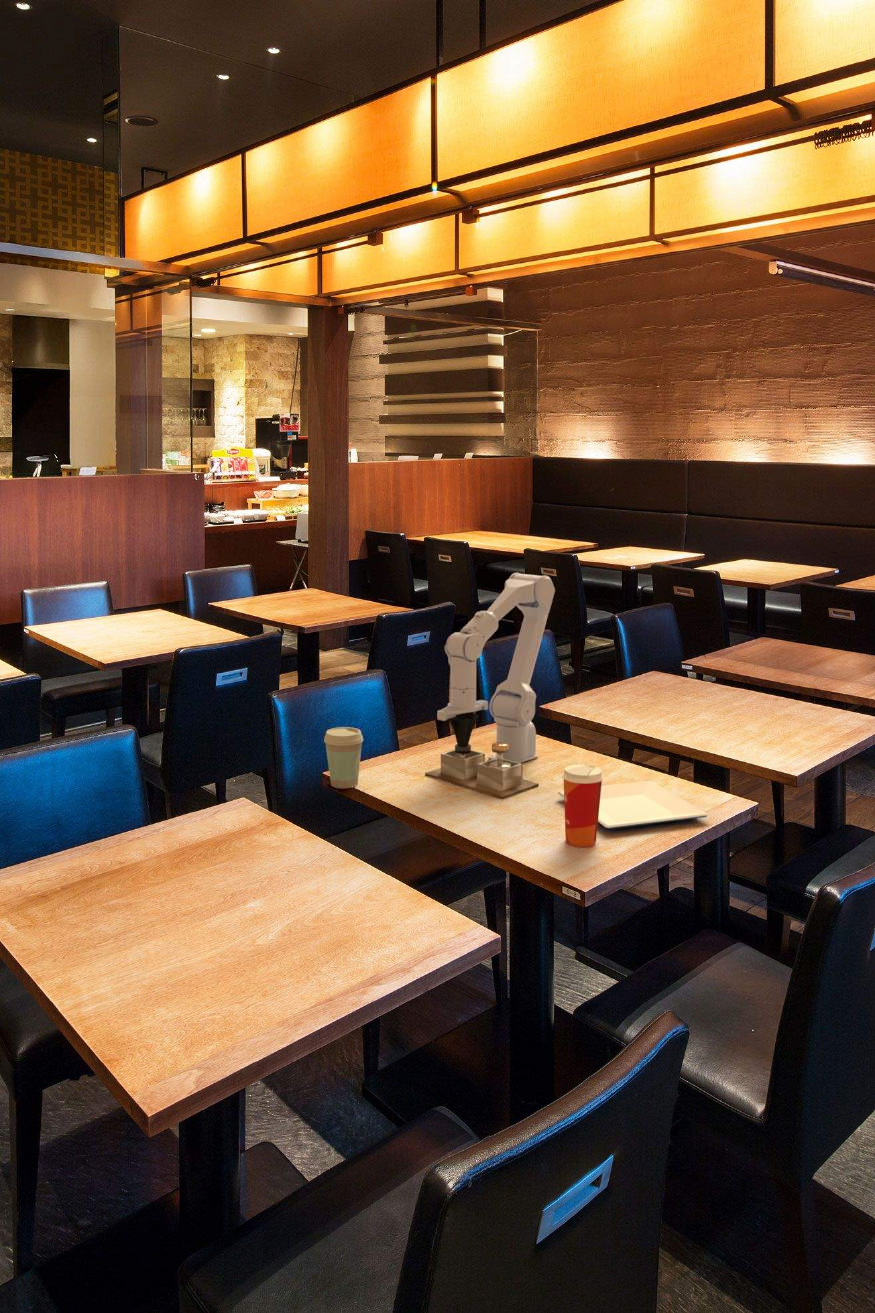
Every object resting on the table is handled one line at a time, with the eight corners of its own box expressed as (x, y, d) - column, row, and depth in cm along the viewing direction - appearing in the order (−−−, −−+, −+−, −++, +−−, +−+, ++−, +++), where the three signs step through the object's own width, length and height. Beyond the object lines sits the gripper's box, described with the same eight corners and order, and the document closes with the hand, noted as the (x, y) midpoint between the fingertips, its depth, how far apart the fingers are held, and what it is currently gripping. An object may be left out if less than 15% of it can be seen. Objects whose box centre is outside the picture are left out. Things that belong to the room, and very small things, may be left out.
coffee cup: (362, 791, 218) (361, 737, 215) (322, 790, 218) (321, 736, 216) (365, 778, 226) (364, 726, 224) (327, 778, 226) (326, 726, 224)
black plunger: (462, 763, 232) (462, 741, 231) (477, 767, 228) (477, 745, 227) (447, 767, 228) (447, 745, 227) (463, 772, 225) (463, 749, 224)
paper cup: (574, 831, 195) (576, 761, 192) (609, 840, 190) (611, 769, 187) (551, 843, 189) (553, 770, 186) (587, 853, 184) (589, 779, 181)
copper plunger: (498, 762, 224) (499, 740, 223) (515, 767, 220) (515, 744, 219) (484, 767, 220) (484, 744, 219) (501, 772, 217) (501, 748, 216)
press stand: (461, 763, 237) (461, 743, 236) (538, 785, 221) (538, 763, 220) (425, 775, 229) (425, 753, 228) (502, 799, 213) (502, 776, 212)
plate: (606, 837, 192) (607, 826, 192) (556, 799, 213) (556, 790, 213) (708, 824, 199) (709, 814, 199) (650, 789, 220) (651, 779, 220)
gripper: (471, 678, 232) (471, 736, 235) (427, 689, 222) (427, 748, 225) (495, 683, 228) (494, 742, 230) (450, 694, 217) (450, 755, 220)
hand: (462, 745), depth 227 cm, fingers closed, pressing on black plunger
